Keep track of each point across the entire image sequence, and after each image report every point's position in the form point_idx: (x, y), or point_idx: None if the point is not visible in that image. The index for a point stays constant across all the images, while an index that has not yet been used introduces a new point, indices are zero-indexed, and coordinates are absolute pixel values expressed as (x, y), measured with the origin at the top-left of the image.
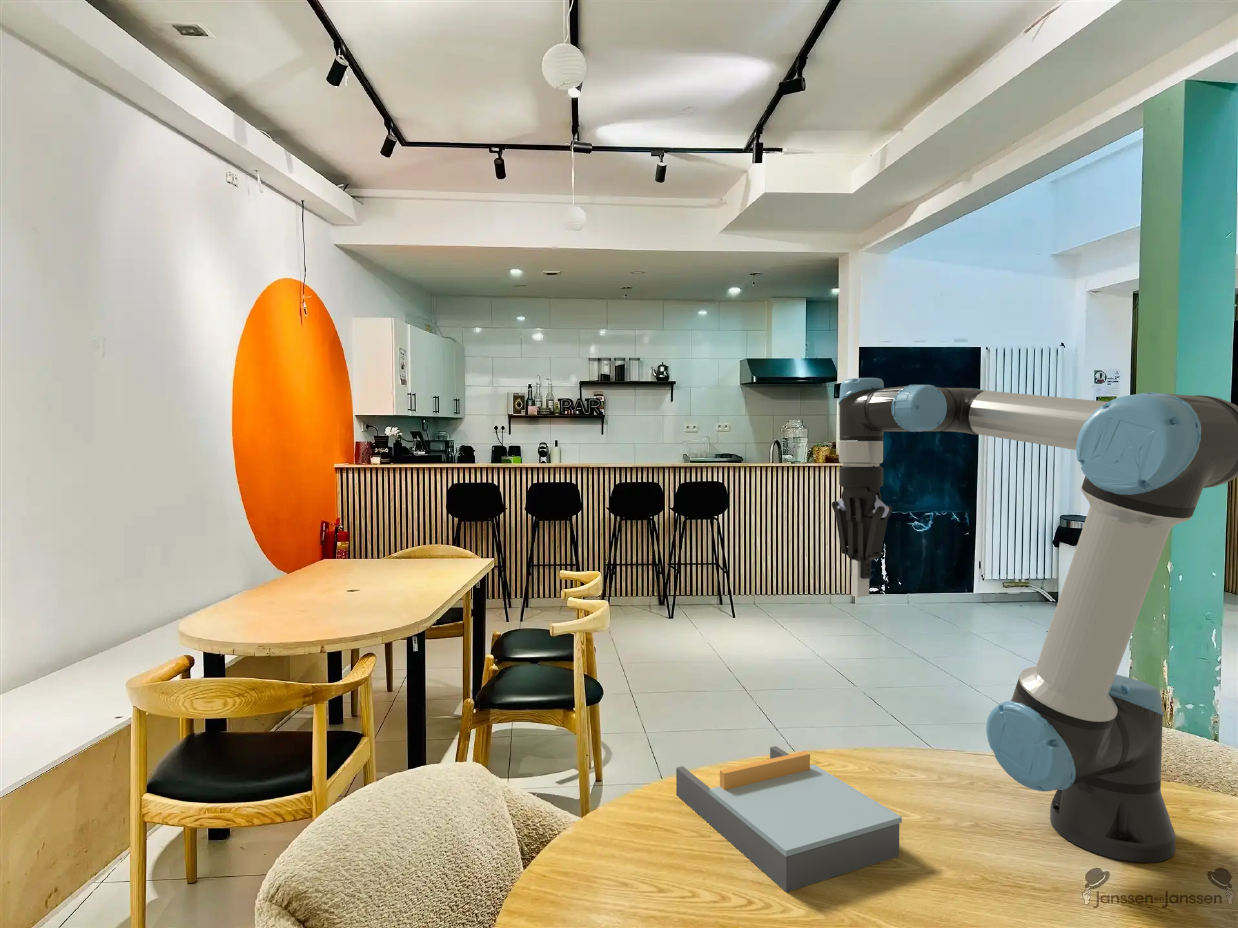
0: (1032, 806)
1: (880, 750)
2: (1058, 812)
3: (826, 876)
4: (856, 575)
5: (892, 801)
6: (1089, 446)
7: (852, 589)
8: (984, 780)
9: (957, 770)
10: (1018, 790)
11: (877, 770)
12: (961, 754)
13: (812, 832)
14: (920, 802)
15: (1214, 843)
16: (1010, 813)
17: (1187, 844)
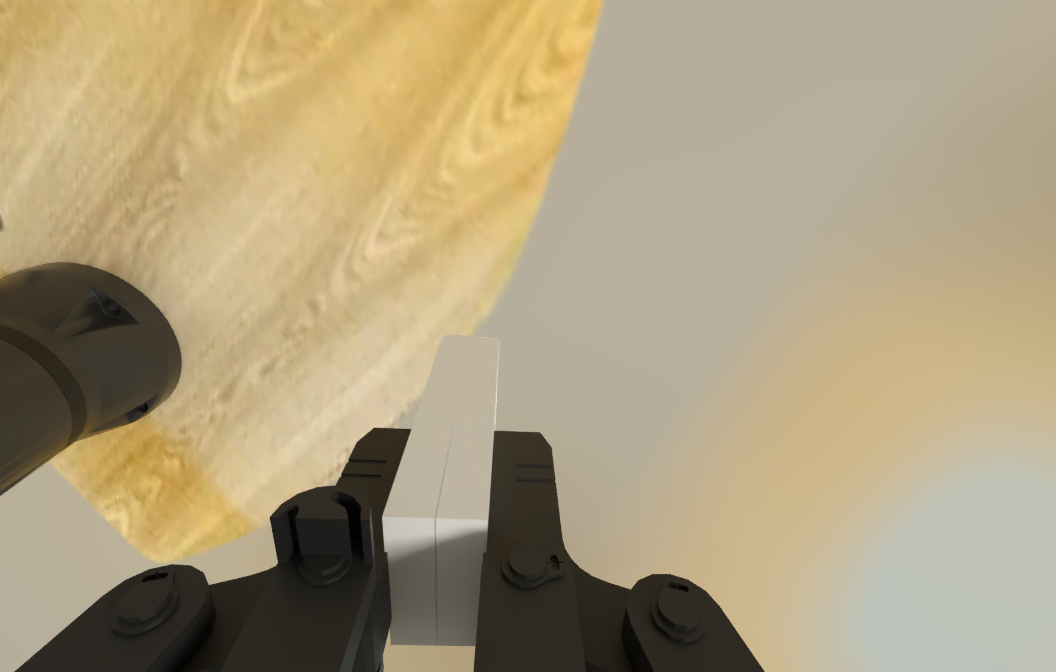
0: (206, 321)
1: (500, 273)
2: (97, 293)
3: None
4: (428, 413)
5: (302, 101)
6: None
7: (487, 354)
8: (314, 336)
9: (365, 328)
10: (263, 352)
11: (429, 190)
12: (415, 389)
13: None
14: (280, 152)
15: None
16: (194, 267)
17: None
